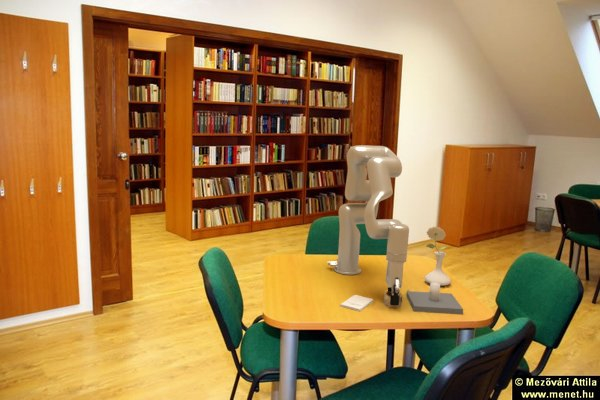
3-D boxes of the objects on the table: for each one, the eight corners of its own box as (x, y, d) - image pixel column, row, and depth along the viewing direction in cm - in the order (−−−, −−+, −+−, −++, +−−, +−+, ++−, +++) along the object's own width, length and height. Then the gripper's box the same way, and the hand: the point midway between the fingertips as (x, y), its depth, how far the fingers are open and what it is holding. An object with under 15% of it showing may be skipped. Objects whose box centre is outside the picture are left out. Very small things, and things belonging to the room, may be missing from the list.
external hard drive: (373, 303, 189) (359, 313, 179) (353, 298, 194) (339, 307, 183) (373, 299, 189) (360, 309, 179) (354, 294, 193) (339, 303, 183)
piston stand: (413, 311, 182) (415, 289, 180) (406, 295, 197) (408, 275, 196) (462, 314, 181) (465, 292, 180) (451, 298, 197) (453, 278, 195)
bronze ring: (384, 306, 184) (385, 296, 184) (382, 300, 191) (383, 290, 190) (402, 308, 184) (403, 297, 183) (399, 301, 191) (400, 291, 190)
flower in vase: (455, 284, 214) (461, 228, 210) (443, 290, 206) (449, 232, 202) (428, 276, 223) (433, 223, 219) (415, 281, 215) (420, 226, 210)
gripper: (383, 249, 193) (380, 292, 196) (389, 262, 176) (386, 309, 179) (402, 250, 193) (398, 293, 196) (410, 263, 176) (406, 310, 179)
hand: (392, 300), depth 187 cm, fingers closed on bronze ring, 6 cm apart
